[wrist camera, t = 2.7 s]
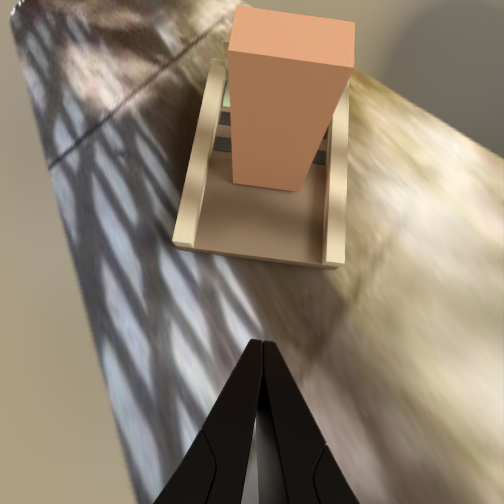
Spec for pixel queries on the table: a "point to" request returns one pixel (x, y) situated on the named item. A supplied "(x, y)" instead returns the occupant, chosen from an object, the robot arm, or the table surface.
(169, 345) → the table surface
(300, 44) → the tall block
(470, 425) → the table surface
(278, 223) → the open-ended rail tray
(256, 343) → the robot arm
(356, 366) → the table surface
